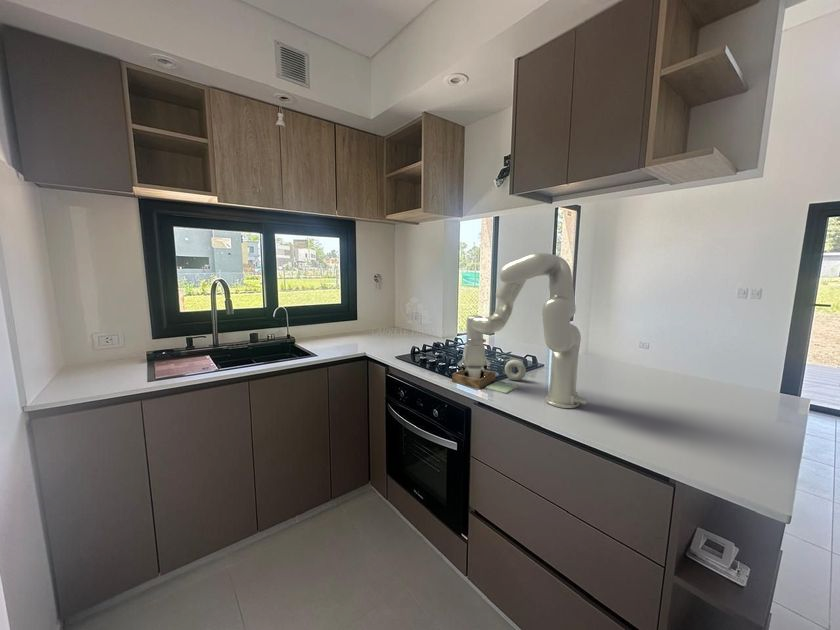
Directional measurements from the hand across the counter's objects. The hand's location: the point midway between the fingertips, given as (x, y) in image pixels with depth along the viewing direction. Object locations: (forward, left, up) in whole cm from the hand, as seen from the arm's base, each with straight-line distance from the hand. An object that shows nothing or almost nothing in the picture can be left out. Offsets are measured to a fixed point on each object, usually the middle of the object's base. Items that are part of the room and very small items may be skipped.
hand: (473, 378), depth 159 cm
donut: (-14, -14, -1) cm, 20 cm away
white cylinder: (0, 0, -1) cm, 1 cm away
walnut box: (0, 0, -1) cm, 1 cm away
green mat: (-14, 0, -1) cm, 14 cm away
